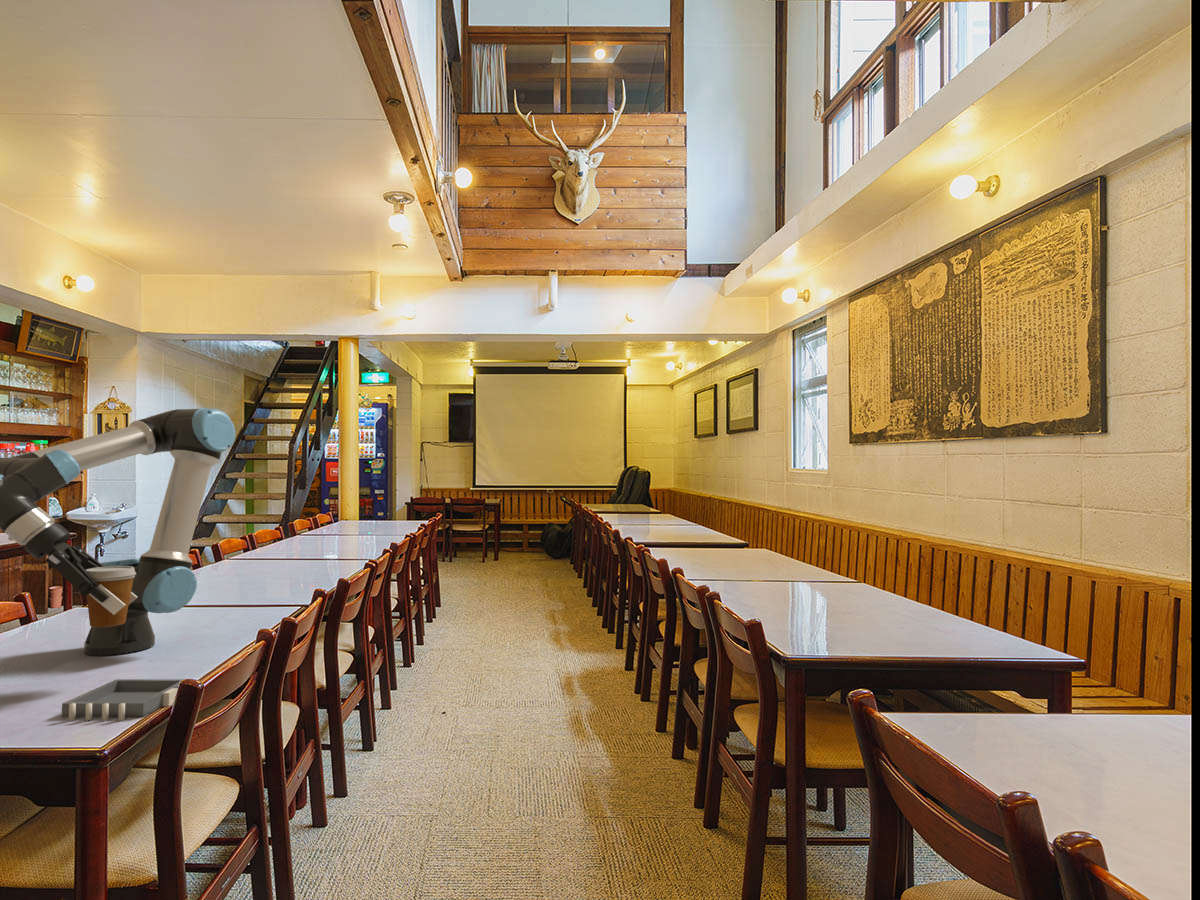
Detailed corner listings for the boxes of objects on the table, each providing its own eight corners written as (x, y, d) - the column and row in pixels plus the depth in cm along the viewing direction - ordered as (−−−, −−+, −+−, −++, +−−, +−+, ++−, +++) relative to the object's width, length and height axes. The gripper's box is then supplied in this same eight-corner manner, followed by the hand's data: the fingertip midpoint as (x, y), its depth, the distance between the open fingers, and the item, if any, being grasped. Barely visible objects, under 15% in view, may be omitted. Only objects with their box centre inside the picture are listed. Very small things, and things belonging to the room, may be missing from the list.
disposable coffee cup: (99, 619, 152) (101, 565, 153) (143, 619, 153) (145, 565, 154) (69, 629, 143) (71, 571, 143) (117, 628, 144) (119, 571, 144)
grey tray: (115, 691, 143) (116, 677, 143) (194, 691, 143) (194, 677, 143) (53, 721, 126) (53, 704, 126) (142, 721, 126) (143, 704, 126)
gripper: (43, 542, 153) (125, 609, 158) (0, 552, 133) (95, 629, 138) (73, 518, 155) (152, 585, 160) (34, 525, 135) (127, 601, 140)
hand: (126, 605), depth 149 cm, fingers closed on disposable coffee cup, 9 cm apart
